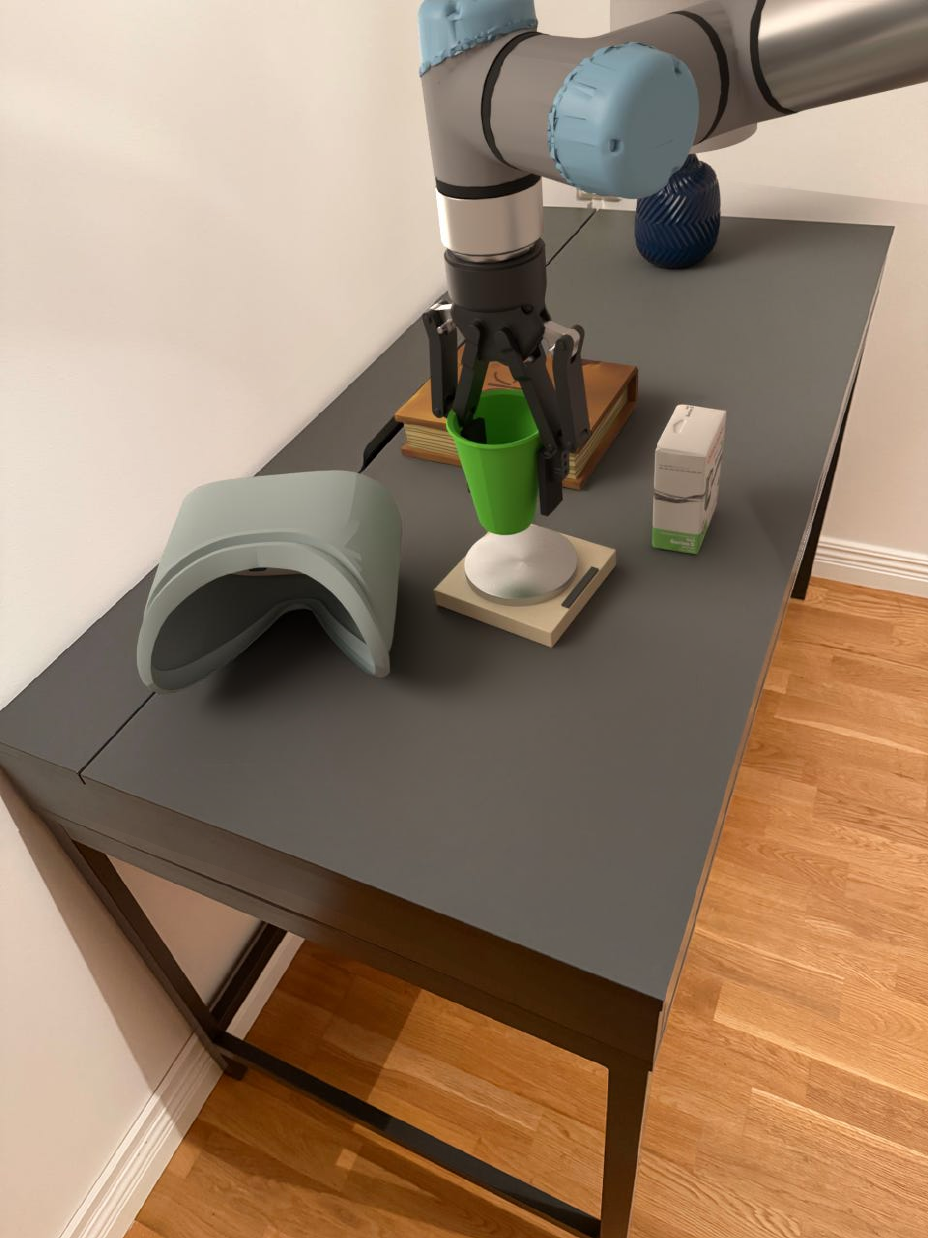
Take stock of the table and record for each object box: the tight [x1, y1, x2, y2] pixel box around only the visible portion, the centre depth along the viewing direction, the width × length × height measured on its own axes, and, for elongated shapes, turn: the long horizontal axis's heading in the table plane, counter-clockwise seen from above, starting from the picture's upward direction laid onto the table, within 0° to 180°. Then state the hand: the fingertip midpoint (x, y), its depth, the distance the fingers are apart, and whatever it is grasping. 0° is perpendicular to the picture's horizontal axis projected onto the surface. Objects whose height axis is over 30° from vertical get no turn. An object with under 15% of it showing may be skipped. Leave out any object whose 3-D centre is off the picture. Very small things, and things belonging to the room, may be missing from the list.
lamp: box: [609, 0, 758, 269], centre depth 127 cm, size 20×20×37 cm
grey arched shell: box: [136, 469, 403, 695], centre depth 82 cm, size 22×19×13 cm
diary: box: [394, 343, 639, 491], centre depth 107 cm, size 23×19×6 cm
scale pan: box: [464, 525, 578, 606], centre depth 87 cm, size 11×11×1 cm
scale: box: [433, 523, 617, 649], centre depth 88 cm, size 13×13×2 cm
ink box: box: [651, 404, 727, 555], centre depth 88 cm, size 9×5×12 cm, turn 156°
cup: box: [446, 389, 544, 535], centre depth 79 cm, size 9×9×11 cm
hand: (514, 495), depth 81 cm, fingers closed on cup, 7 cm apart
